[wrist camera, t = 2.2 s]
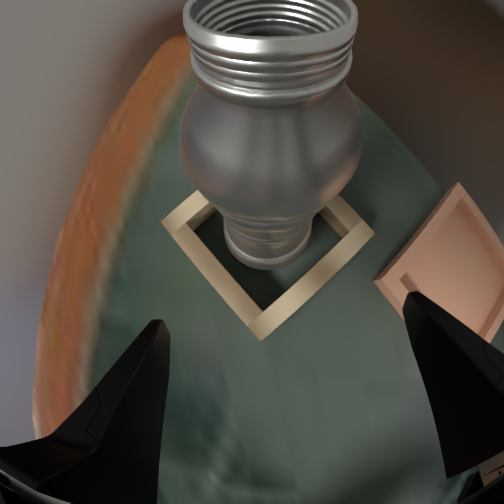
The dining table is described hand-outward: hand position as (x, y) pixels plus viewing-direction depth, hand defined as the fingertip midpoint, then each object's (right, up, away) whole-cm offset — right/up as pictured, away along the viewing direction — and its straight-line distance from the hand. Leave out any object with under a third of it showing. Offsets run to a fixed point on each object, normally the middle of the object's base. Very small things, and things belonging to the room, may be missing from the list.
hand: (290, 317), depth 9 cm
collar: (0, +4, +14) cm, 15 cm away
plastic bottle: (0, +4, +14) cm, 15 cm away
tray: (+19, -1, +12) cm, 22 cm away
